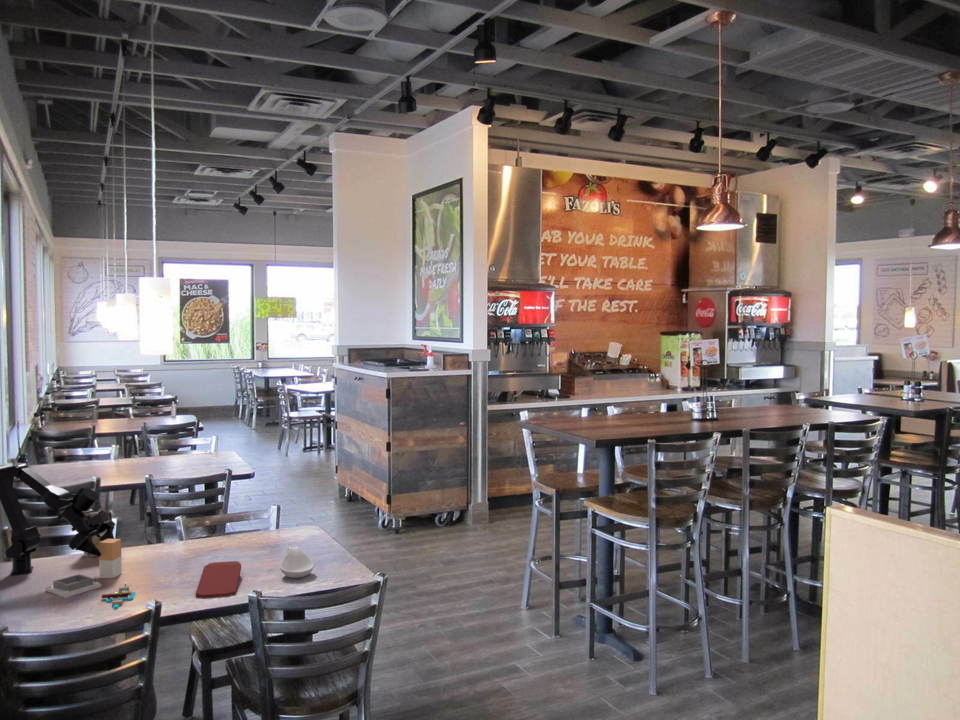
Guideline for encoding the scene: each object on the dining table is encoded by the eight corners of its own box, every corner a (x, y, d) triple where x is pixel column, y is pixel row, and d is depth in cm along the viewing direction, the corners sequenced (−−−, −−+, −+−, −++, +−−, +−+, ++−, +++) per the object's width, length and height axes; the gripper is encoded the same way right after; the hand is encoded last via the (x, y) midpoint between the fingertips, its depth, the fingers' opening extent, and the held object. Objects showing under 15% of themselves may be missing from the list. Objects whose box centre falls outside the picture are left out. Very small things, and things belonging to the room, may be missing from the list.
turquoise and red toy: (96, 612, 227) (129, 609, 230) (95, 595, 227) (129, 592, 229) (107, 590, 246) (138, 588, 249) (107, 574, 246) (138, 572, 248)
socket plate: (45, 590, 244) (45, 581, 244) (81, 580, 254) (80, 571, 254) (65, 597, 238) (65, 588, 238) (101, 586, 248) (101, 577, 248)
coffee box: (109, 549, 290) (108, 509, 290) (113, 553, 285) (112, 512, 285) (83, 554, 284) (82, 513, 284) (86, 558, 279) (86, 516, 279)
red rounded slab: (235, 606, 241) (242, 571, 265) (235, 592, 240) (242, 558, 265) (195, 609, 238) (206, 573, 263) (194, 595, 237) (206, 560, 262)
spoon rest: (316, 579, 257) (316, 558, 257) (281, 583, 253) (281, 562, 253) (306, 559, 279) (306, 541, 279) (274, 563, 275) (274, 544, 275)
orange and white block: (99, 577, 257) (98, 542, 257) (108, 573, 262) (107, 538, 262) (112, 578, 257) (112, 543, 256) (121, 573, 262) (121, 539, 261)
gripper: (75, 510, 250) (106, 543, 249) (109, 498, 269) (138, 529, 268) (54, 533, 251) (85, 566, 250) (90, 519, 270) (119, 550, 269)
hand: (108, 551), depth 259 cm, fingers open, 9 cm apart
